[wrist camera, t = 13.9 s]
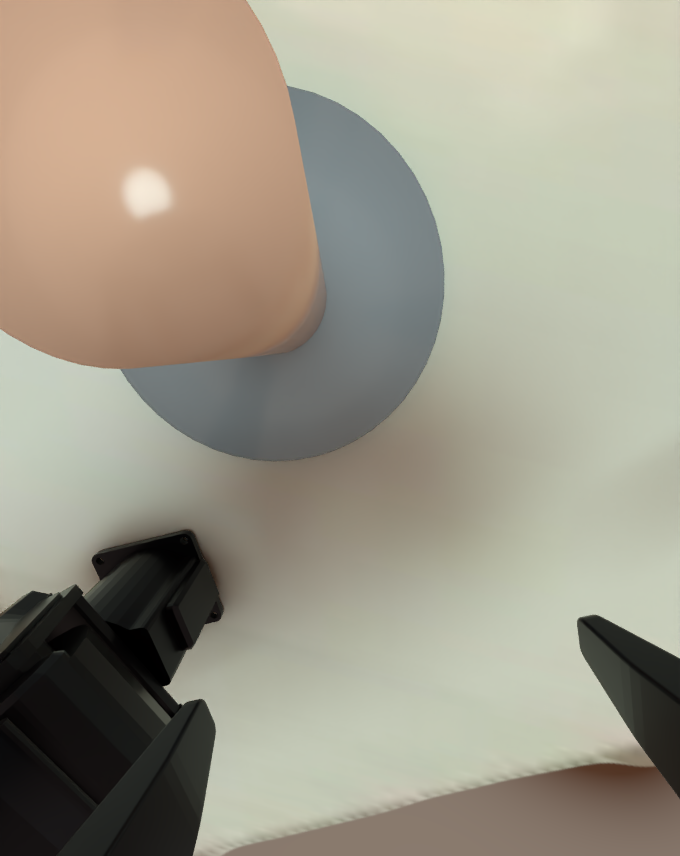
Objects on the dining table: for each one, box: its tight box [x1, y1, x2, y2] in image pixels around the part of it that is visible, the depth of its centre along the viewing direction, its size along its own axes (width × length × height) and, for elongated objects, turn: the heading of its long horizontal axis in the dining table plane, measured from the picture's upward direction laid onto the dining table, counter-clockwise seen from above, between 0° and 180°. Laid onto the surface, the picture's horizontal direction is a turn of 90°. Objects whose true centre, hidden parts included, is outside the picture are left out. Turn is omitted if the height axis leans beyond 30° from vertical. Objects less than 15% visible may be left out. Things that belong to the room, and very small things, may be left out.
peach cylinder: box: [0, 0, 327, 369], centre depth 11 cm, size 6×6×13 cm
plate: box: [121, 86, 444, 461], centre depth 18 cm, size 18×18×1 cm
